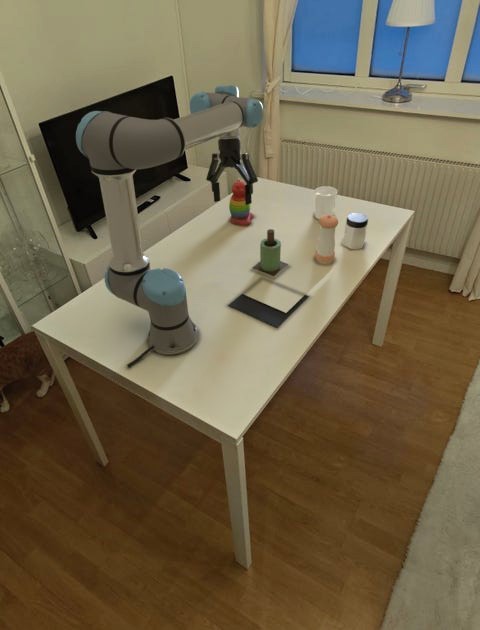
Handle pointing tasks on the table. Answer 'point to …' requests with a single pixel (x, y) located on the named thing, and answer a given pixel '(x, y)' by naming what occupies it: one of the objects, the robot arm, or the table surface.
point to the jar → (355, 230)
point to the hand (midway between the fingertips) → (232, 202)
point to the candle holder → (325, 201)
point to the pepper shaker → (326, 239)
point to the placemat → (263, 310)
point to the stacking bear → (239, 205)
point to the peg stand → (270, 244)
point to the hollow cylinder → (270, 255)
